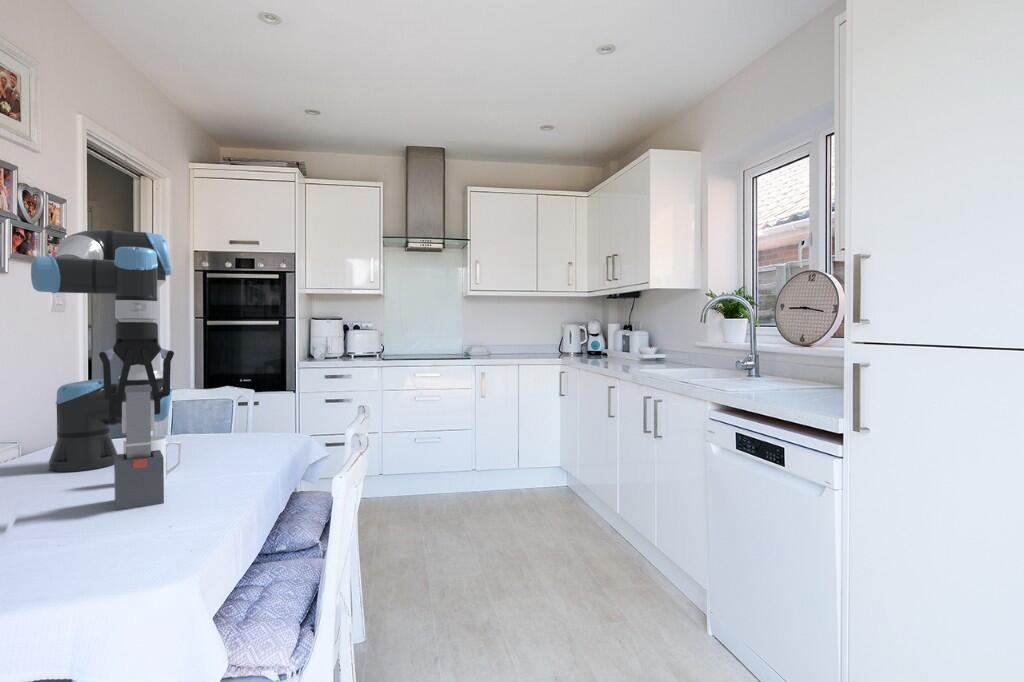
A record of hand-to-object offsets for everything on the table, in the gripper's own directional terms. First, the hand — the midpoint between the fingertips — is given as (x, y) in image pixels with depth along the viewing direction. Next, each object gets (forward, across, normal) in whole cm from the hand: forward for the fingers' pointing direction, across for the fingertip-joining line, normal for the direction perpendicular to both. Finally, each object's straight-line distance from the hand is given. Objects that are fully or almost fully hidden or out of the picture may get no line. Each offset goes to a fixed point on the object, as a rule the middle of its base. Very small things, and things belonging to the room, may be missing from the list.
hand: (138, 430), depth 122 cm
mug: (+17, +4, +20) cm, 26 cm away
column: (+12, 0, 0) cm, 12 cm away
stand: (+16, 0, 0) cm, 16 cm away
